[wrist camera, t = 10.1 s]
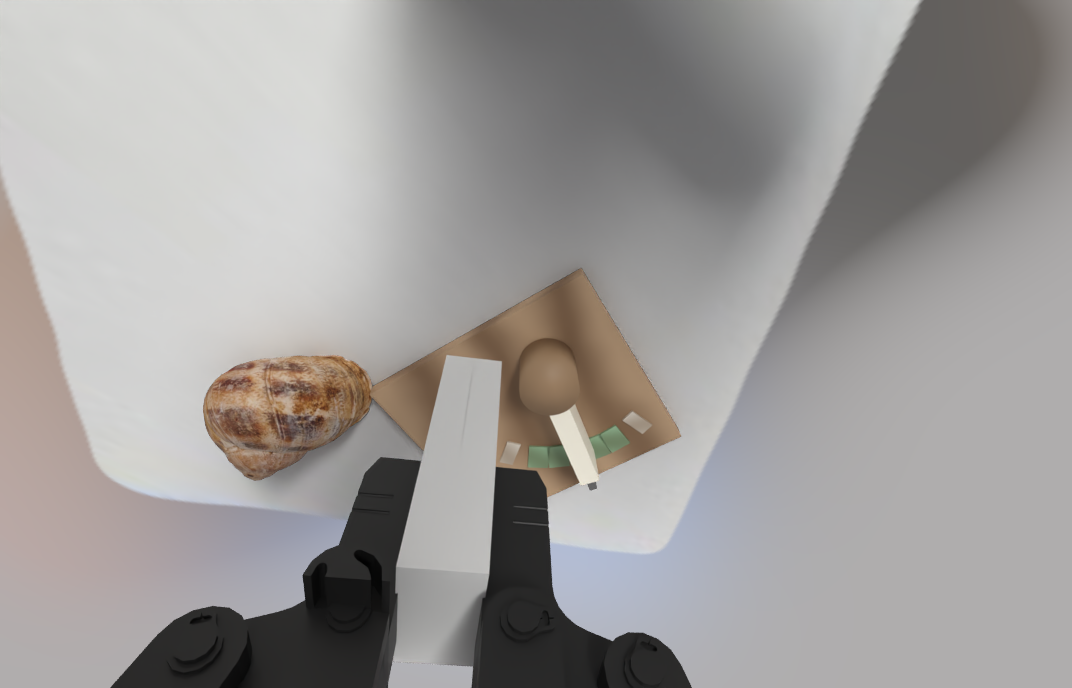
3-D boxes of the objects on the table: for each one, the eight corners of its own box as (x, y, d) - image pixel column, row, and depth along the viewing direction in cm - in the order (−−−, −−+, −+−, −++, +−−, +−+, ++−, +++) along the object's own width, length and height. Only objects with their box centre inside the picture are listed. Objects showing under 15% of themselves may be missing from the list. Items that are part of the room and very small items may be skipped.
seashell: (336, 466, 47) (233, 518, 38) (275, 396, 49) (163, 429, 40) (391, 388, 43) (291, 426, 34) (323, 314, 44) (210, 331, 35)
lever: (511, 348, 40) (510, 377, 37) (564, 330, 40) (568, 358, 36) (565, 466, 47) (568, 500, 43) (612, 452, 46) (619, 485, 43)
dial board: (581, 267, 39) (583, 275, 38) (677, 427, 47) (681, 437, 45) (372, 386, 44) (368, 396, 42) (492, 512, 51) (491, 524, 50)
